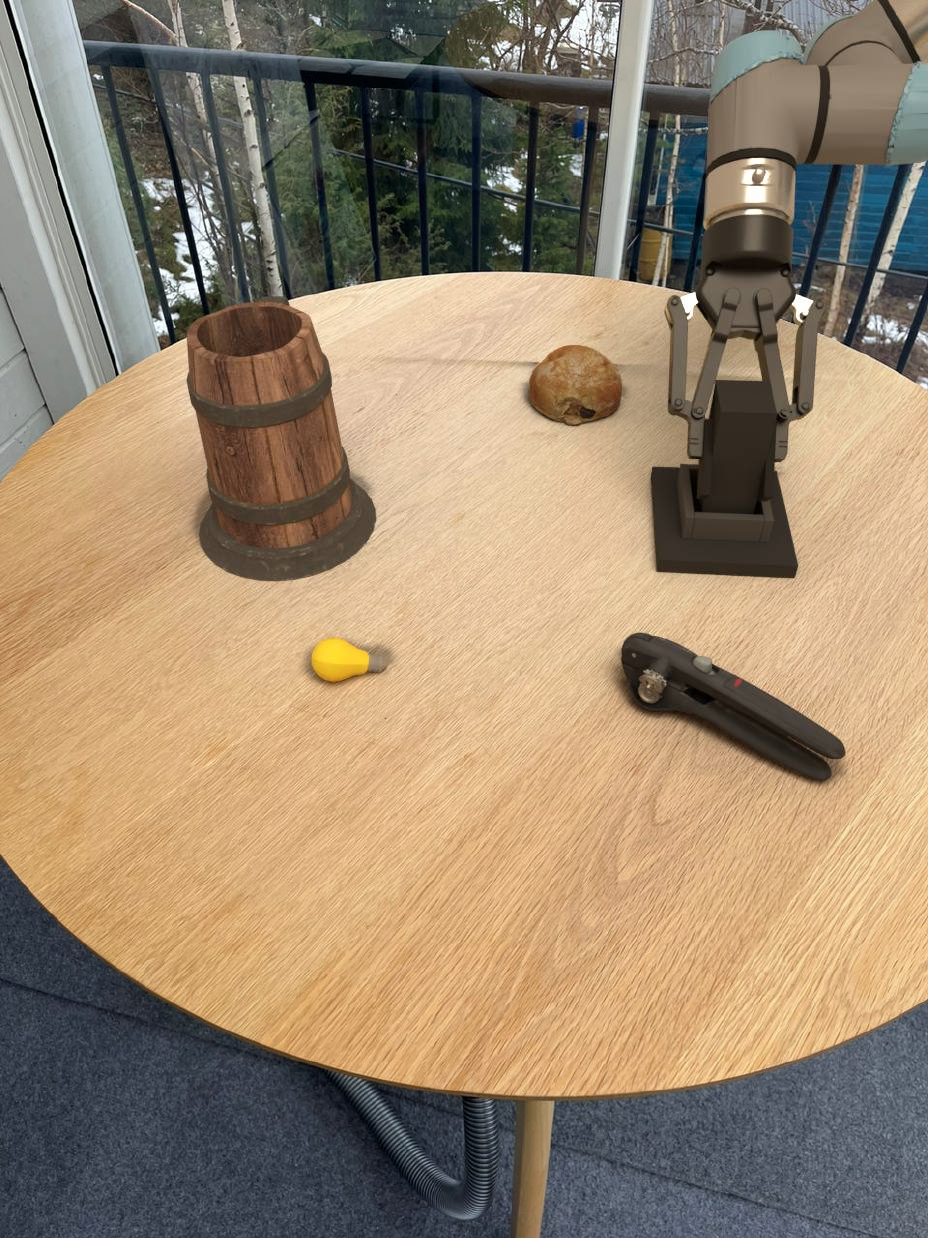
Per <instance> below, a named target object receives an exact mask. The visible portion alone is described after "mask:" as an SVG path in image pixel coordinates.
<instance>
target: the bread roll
mask: <svg viewBox="0 0 928 1238" xmlns="http://www.w3.org/2000/svg"><path fill="white" fill-rule="evenodd" d="M622 381H623V380H622V376H621V373H620V371H619V369H618V368H617V366H616V365H615V363H613V361H612V360H611V359H610V358H608V357H606V356H605V355H604V354H603V353H602V352H600V351H598V350H596V349H594V348H593V347H589V346H586V345H581V344H567V345H563V346H560V347H558V348H556V349H555V350H553V351H551V352H549V353H548V354H547V355H546V357H545V358H543V360H542V361H541V362H539V363H537V364H536V365H535V366H534V368H533V369H532V371H531V374H530V376H529V381H528V382H529V384H528V385H529V390H528V397H529V398H528V399H529V401H530V404H531V405H532V406H533V407H534V408H535V409H536V410H537V412H539V413H541V414H543V415H544V416H546V417H547V418H549V419H551V420H553V421H556V422H557V421H558V422H560V423H566V424H567V425H569V426H574V425H578V424H582V423H583V424H584V423H586V422H587V423H588V422H593V421H596V420H598V419H601V418H607V417H608V416H610V415H612V414H613V413H614V412H615V411H616V410H617V408H619V407H618V406H619V405H620V403H621V399H622V395H623V394H622V393H623V382H622Z"/></svg>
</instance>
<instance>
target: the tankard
mask: <svg viewBox="0 0 928 1238" xmlns="http://www.w3.org/2000/svg"><path fill="white" fill-rule="evenodd" d="M186 346H187V348H186V349H187V361H188V364H187V365H188V373H187V376H186V386H187V390H188V395H189V401H190V404H191V406H192V408H193V409H194V411H195V415H196V420H197V423H198V430H199V434H200V439H201V443H202V449H203V452H204V457H205V461H206V466H207V467H206V473H205V478H206V483H207V488H208V492H209V498H210V500H211V502H210V505H209V508H208V510H207V511H206V512H204V513H205V514H204V516H203V518H202V520H201V522H200V525H199V532H198V538H199V542H200V543H199V544H200V547H201V549H202V551H203V552H204V554H205V557H207V558H208V559H209V560H210V562H212V563H213V564H214V565H215V566H217V567H218V568H220V569H222V570H224V571H225V572H226V573H230V574H232V575H234V576H237V577H240V578H245V579H251V580H256V581H267V582H268V581H270V582H271V581H272V582H275V581H276V582H279V581H293V580H298V579H303V578H307V577H312V576H315V575H318V574H321V573H323V572H326V571H329V570H331V569H333V568H335V567H337V566H339V565H341V564H343V563H345V562H347V561H348V560H349V559H350V558H352V557H353V556H355V554H357V553H358V552H359V551H360V550H361V549H362V548H363V547H364V546H365V545H366V544H367V542H368V541H369V540H370V537H371V536H372V535H373V532H374V530H375V527H376V522H377V510H376V506H375V504H374V501H373V499H372V497H371V496H370V495H369V493H368V492H367V491H366V490H365V489H364V488H363V487H361V486H360V485H358V483H356V482H355V480H354V479H352V478H351V470H350V464H349V459H348V455H347V453H346V449H345V448H344V447H343V445H342V444H343V443H342V439H341V435H340V430H339V429H340V428H339V423H338V419H337V414H336V407H335V402H334V396H333V392H332V387H333V378H332V371H331V366H330V362H329V359H328V357H327V356H326V354H325V352H323V350H322V347H321V345H320V341H319V338H318V335H317V333H316V329H315V326H314V323H313V319H312V318H311V316H310V315H309V314H307V313H306V312H304V311H302V310H299V309H298V308H296V307H293V306H291V305H290V302H289V299H288V297H286V296H284V295H281V296H279V295H278V296H262V297H260V298H259V299H258V301H254V302H253V301H252V302H250V301H249V302H243V303H237V304H233V305H230V306H227V307H225V308H222V309H220V310H217V311H215V312H213V313H212V312H211V313H209V314H206V315H204V316H202V317H199V318H197V319H196V320H194V321H193V322H192V323H191V324H190V326H188V329H187V333H186Z"/></svg>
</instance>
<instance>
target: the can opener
mask: <svg viewBox="0 0 928 1238" xmlns="http://www.w3.org/2000/svg"><path fill="white" fill-rule="evenodd" d="M620 651H621V657H620V662H621V666H622V670H623V674H624V676H625V678H626V680H627V681H626V682H627V685H628V689H629V692H630V695H631V697H632V699H633V701H634V702H635V703H636V704H637V705H638V706H639V707H641V708H642V709H644V710H646V711H650V712H667V711H668V712H669V711H676V712H683V713H686V714H690V715H693V716H696V717H698V718H701V719H703V720H704V721H707V722H709V723H711V724H712V725H714V726H716V727H717V728H719V729H721V730H723V731H724V732H726V733H727V734H729V735H730V736H732V737H733V738H735V739H736V740H738V741H740V742H742V744H745V745H747V746H748V747H750V748H751V749H753V750H754V751H756V752H757V753H759V754H761V755H762V756H764V757H765V758H767V759H770V760H771V761H773V762H774V763H776V764H778V765H780V766H783V767H784V768H786V769H788V770H790V771H792V772H795V773H797V774H799V775H801V776H804V777H806V778H808V779H811V780H814V781H820V782H821V781H822V782H824V781H827V780H829V779H831V777H832V775H833V771H832V768H831V765H830V764H829V763H828V761H826V760H825V759H824V758H822V757H825V758H826V759H830V760H841V759H843V758H844V757H845V756H846V753H847V752H846V748H845V744H843V742H842V740H841V739H840V738H839V737H838V736H836V735H834V734H833V733H832V732H830V731H829V730H827V729H826V728H825V727H823V726H821V725H820V724H819V723H817V722H815V721H814V720H812V719H811V718H809V717H808V716H806V715H805V714H803V713H802V712H800V711H798V710H797V709H795V708H794V707H792V706H790V704H787V703H786V702H784V701H782V700H781V699H779V698H777V697H776V696H774V695H772V694H770V693H768V692H767V691H765V690H763V689H761V688H759V687H758V686H756V685H754V683H751V682H749V681H748V680H745V679H744V678H742V677H740V676H738V675H737V674H734V673H731V672H729V671H728V670H725V669H724V668H722V667H720V666H718V665H716V664H714V663H713V659H712V658H710V657H709V656H705V655H698V654H696V653H695V652H694V651H692V650H690V649H689V648H687V647H686V646H684V645H682V644H680V643H678V642H675V641H673V640H671V639H667V638H665V637H663V636H659V635H658V636H657V635H651V634H650V633H646V632H641V631H640V632H635V633H632V634H630V635H628V636H627V637H626V638H625V640H624V641H623V643H622V646H621V649H620Z"/></svg>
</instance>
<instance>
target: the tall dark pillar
mask: <svg viewBox="0 0 928 1238" xmlns="http://www.w3.org/2000/svg"><path fill="white" fill-rule="evenodd" d="M711 397H712V398H711V403H710V409H709V415H708V419H714V432H713V452H712V458H713V461H712V480H711V495H710V496H709V497H708V498H707V499H699V504H700V512H706V513H730V514H753V513H754V509H755V505H756V500H757V495H758V491H759V487H760V482H761V478H762V474H763V470H764V465H765V461H766V458H767V454H768V450H769V446H770V442H771V437H772V433H773V429H774V425H775V420H776V416H777V410H776V406H775V402H774V398H773V394H772V390H771V386H770V382H769V381H762V380H744V379H743V380H741V379H716V380H715V383H714V387H713V391H712V396H711ZM697 486H698V481H697Z"/></svg>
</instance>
